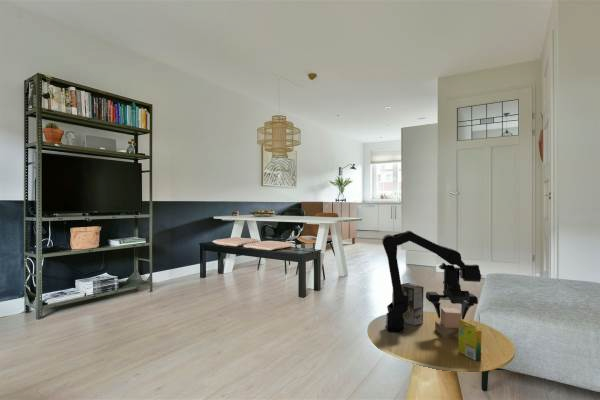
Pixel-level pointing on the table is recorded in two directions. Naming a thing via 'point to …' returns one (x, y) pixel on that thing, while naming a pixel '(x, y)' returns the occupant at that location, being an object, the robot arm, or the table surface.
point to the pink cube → (450, 317)
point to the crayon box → (469, 341)
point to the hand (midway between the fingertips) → (450, 318)
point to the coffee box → (413, 304)
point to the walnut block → (446, 331)
